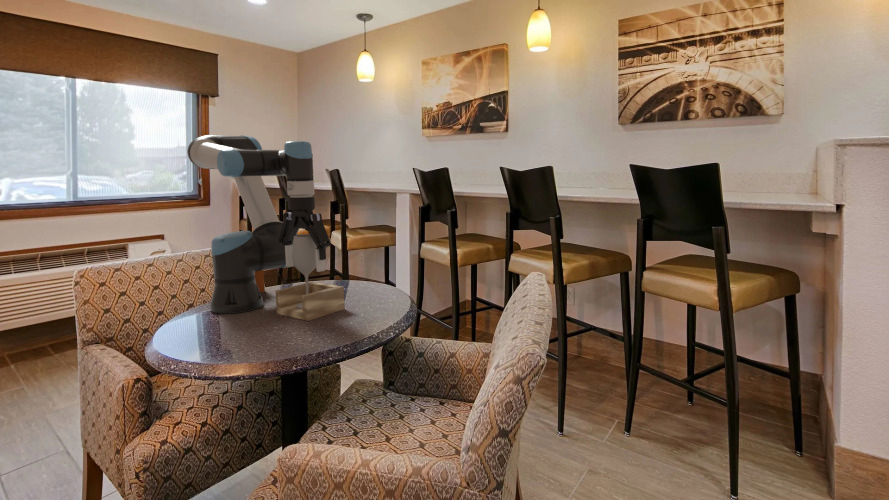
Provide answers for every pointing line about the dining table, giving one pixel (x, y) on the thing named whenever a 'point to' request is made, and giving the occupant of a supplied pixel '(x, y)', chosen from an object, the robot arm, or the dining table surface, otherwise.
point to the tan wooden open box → (310, 300)
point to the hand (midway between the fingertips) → (305, 268)
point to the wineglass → (304, 257)
